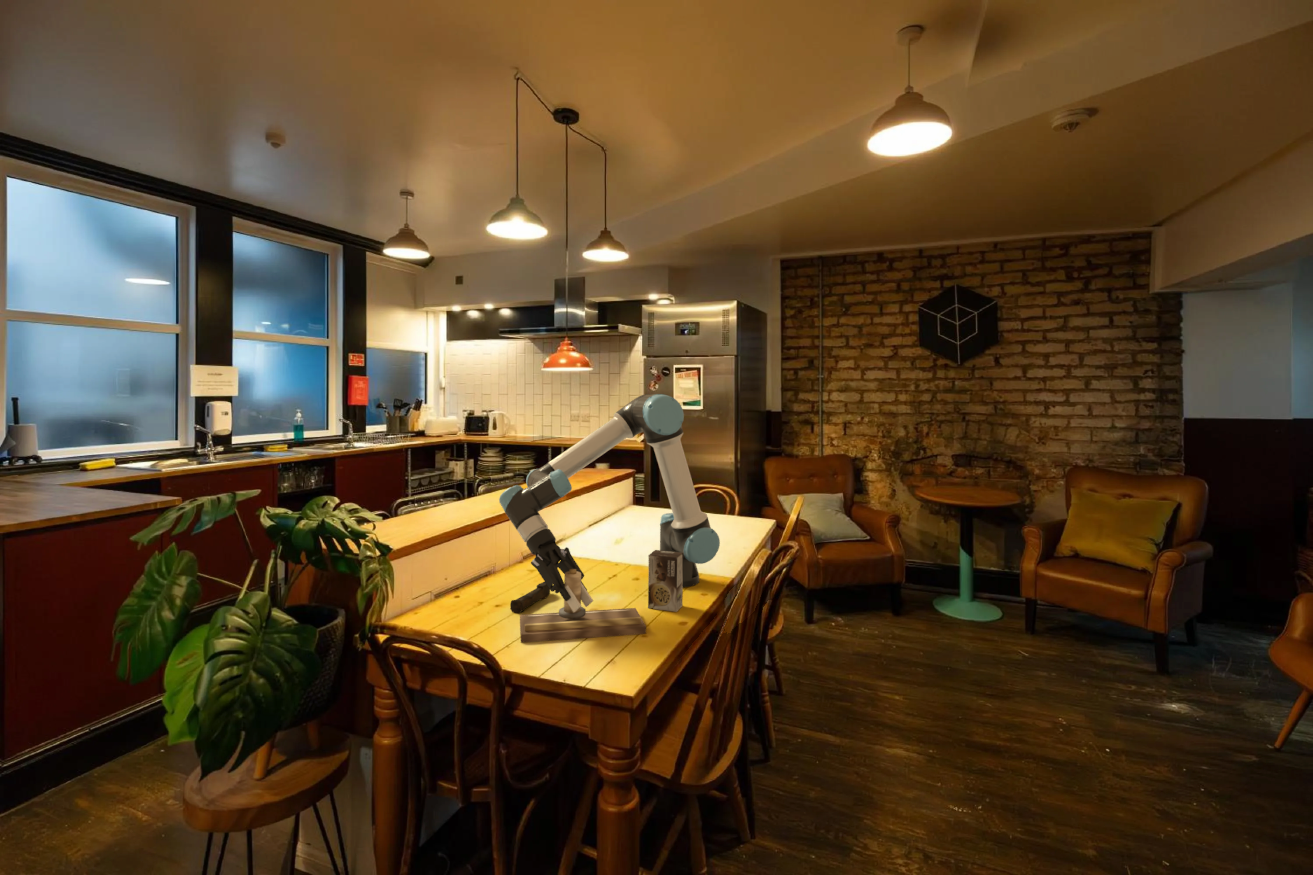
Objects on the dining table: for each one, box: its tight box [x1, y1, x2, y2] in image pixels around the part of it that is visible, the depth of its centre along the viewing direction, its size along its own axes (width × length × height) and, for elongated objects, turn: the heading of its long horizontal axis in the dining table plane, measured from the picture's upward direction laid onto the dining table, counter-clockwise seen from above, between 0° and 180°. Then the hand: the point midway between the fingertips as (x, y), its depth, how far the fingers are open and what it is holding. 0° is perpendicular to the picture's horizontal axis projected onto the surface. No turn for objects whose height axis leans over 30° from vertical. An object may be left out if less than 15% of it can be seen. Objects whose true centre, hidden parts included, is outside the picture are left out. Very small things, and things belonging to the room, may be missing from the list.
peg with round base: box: [558, 569, 587, 619], centre depth 164 cm, size 7×7×12 cm
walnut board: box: [519, 607, 647, 643], centre depth 165 cm, size 32×14×4 cm, turn 103°
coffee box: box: [647, 549, 684, 613], centre depth 182 cm, size 9×6×16 cm
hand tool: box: [509, 581, 551, 614], centre depth 184 cm, size 19×4×5 cm, turn 157°
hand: (583, 606), depth 163 cm, fingers closed on peg with round base, 4 cm apart
